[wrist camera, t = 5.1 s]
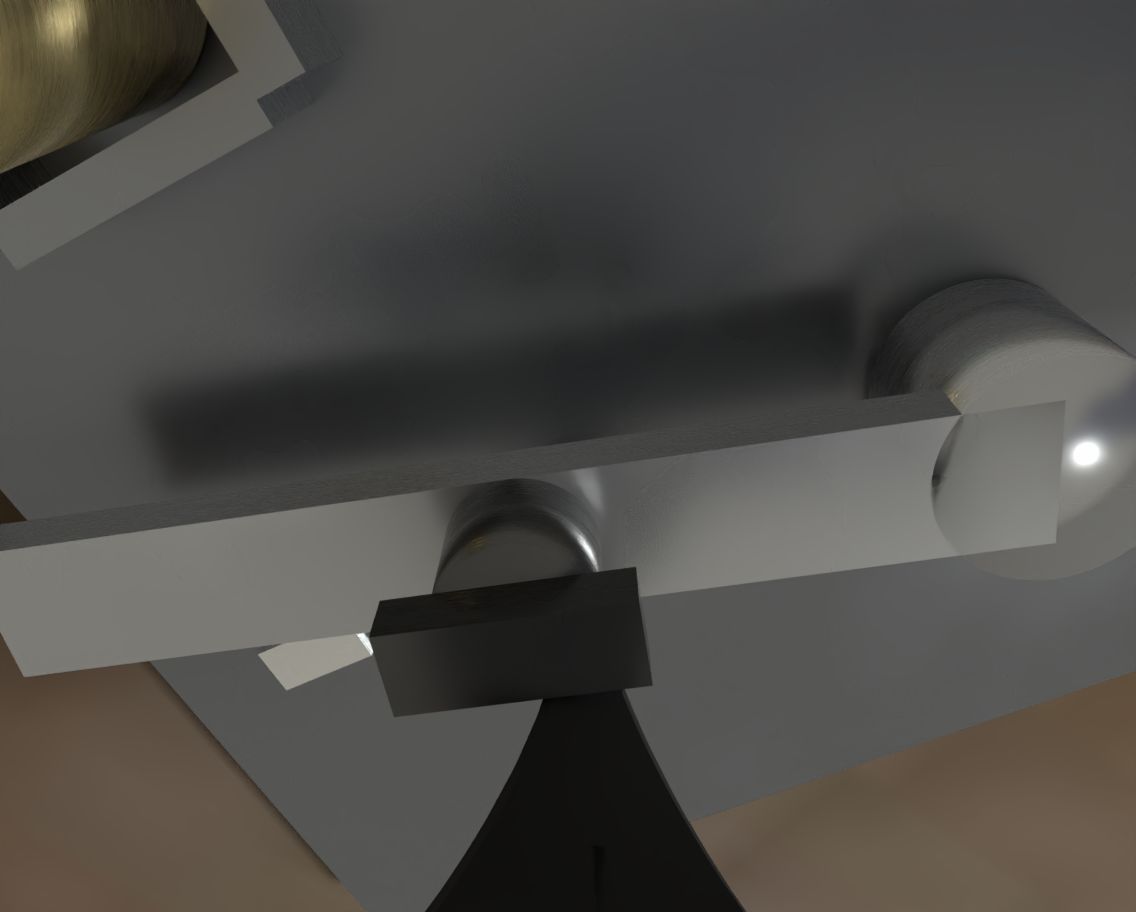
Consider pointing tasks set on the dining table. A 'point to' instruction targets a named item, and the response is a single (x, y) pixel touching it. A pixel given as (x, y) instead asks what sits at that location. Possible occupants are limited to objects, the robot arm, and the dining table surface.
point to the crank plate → (569, 340)
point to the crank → (615, 522)
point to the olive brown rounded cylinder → (88, 67)
